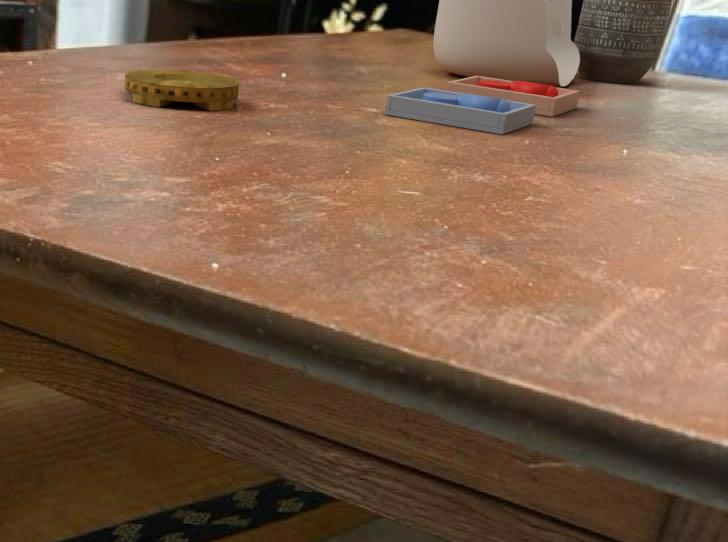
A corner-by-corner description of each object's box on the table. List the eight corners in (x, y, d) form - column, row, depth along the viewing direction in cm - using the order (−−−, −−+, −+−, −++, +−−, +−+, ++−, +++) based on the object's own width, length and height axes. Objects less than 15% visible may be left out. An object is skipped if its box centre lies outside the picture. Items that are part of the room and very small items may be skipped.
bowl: (447, 63, 167) (462, -23, 161) (577, 80, 160) (597, -10, 154) (410, 75, 151) (426, -21, 145) (553, 95, 144) (575, -5, 138)
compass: (230, 95, 123) (232, 74, 122) (243, 113, 113) (245, 91, 112) (123, 87, 122) (124, 66, 121) (125, 105, 112) (126, 82, 111)
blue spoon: (514, 120, 119) (518, 98, 118) (501, 124, 116) (505, 102, 115) (429, 106, 124) (432, 85, 123) (414, 110, 120) (417, 88, 119)
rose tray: (576, 108, 135) (580, 90, 134) (552, 116, 127) (556, 98, 126) (472, 92, 141) (476, 75, 140) (444, 99, 133) (447, 81, 132)
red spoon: (560, 104, 133) (565, 85, 132) (550, 108, 130) (554, 88, 129) (482, 92, 137) (486, 73, 136) (470, 95, 134) (474, 76, 133)
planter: (643, 88, 158) (668, -10, 152) (558, 76, 163) (579, -20, 157) (657, 81, 167) (682, -12, 161) (576, 70, 172) (597, -21, 166)
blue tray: (532, 124, 121) (536, 104, 120) (502, 134, 114) (506, 114, 113) (419, 105, 127) (422, 87, 126) (384, 114, 119) (387, 94, 118)
